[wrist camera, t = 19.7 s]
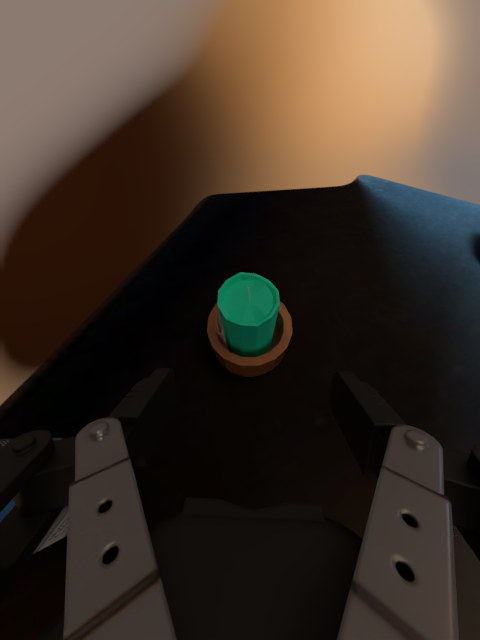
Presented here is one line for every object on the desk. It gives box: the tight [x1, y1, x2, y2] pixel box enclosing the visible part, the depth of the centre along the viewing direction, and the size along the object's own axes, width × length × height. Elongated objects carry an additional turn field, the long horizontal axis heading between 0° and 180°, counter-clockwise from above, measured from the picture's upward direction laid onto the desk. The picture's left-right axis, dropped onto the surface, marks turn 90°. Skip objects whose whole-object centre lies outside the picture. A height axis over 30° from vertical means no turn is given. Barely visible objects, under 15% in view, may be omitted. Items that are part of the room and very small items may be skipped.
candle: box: [217, 272, 280, 357], centre depth 25 cm, size 6×6×12 cm
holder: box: [207, 302, 292, 377], centre depth 29 cm, size 10×10×5 cm
